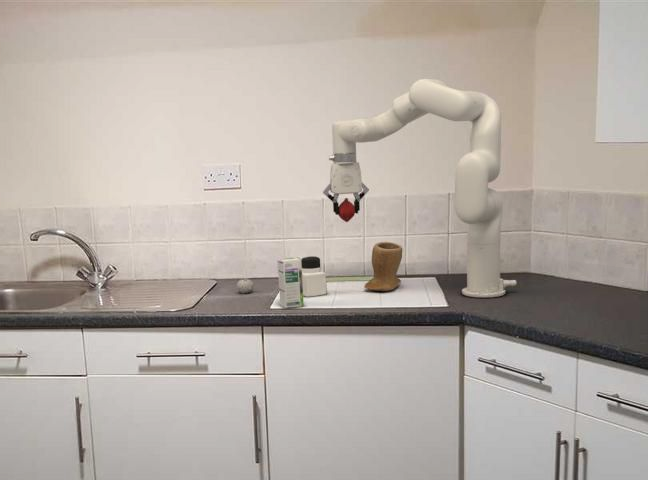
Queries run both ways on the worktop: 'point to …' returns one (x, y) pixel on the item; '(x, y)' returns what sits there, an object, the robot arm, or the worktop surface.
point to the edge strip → (349, 278)
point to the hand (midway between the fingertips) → (346, 213)
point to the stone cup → (385, 266)
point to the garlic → (245, 286)
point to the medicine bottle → (313, 277)
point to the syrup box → (290, 282)
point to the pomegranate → (346, 210)
